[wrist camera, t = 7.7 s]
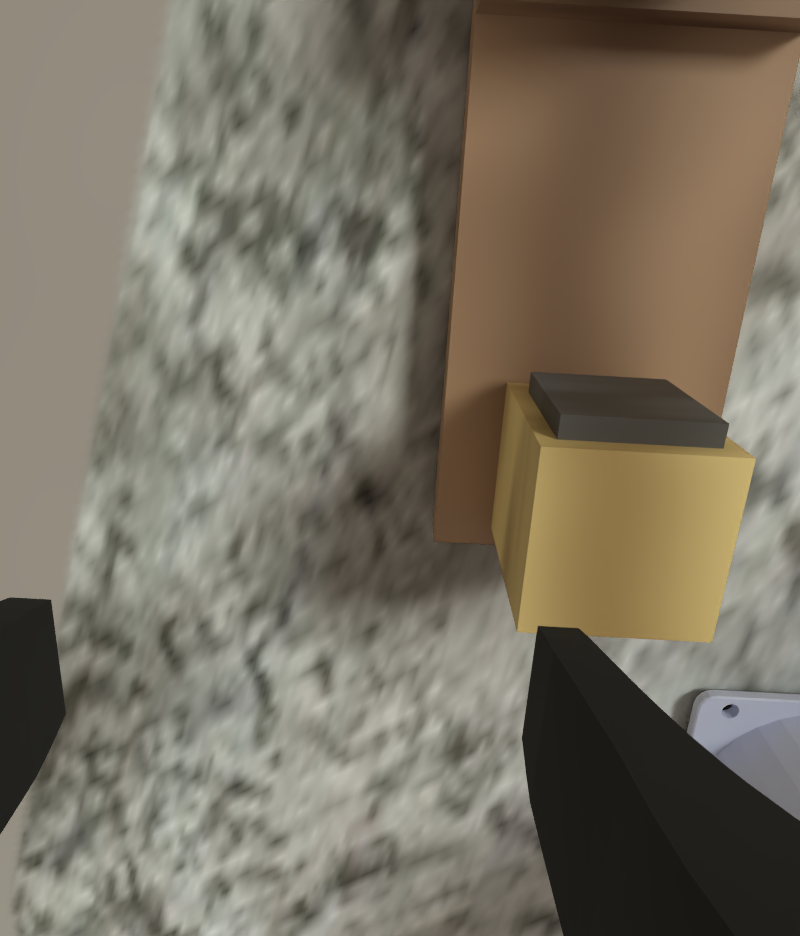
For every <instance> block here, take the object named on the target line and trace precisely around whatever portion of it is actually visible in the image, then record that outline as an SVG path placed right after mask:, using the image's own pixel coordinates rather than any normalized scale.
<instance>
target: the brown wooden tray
mask: <svg viewBox="0 0 800 936" xmlns="http://www.w3.org/2000/svg"><path fill="white" fill-rule="evenodd" d="M799 58H800V0H473V8H472V21H471V34H470V47H469V60H468V73H467V86H466V99H465V112H464V125H463V138H462V151H461V164H460V177H459V190H458V203H457V216H456V229H455V242H454V255H453V268H452V280H451V293H450V306H449V319H448V332H447V345H446V358H445V371H444V384H443V397H442V410H441V423H440V436H439V449H438V462H437V475H436V488H435V501H434V514H433V533H434V542H453V543H471V544H489V545H496V549H497V553H498V557H499V561H500V565H501V569H502V573H503V577H504V581H505V585H506V589H507V594H508V598H509V602H510V606H511V610H512V614H513V618H514V622H515V626H516V630H517V632H526V633H537V628H538V626H549V627H568V628H579V629H580V630H581V631H583V632H584V633H585V634H586V635H587V636H601V637H620V638H638V639H657V640H676V641H694V642H712V640H713V636H714V632H715V628H716V624H717V619H718V615H719V611H720V607H721V603H722V599H723V594H724V590H725V586H726V582H727V578H728V574H729V569H730V565H731V561H732V557H733V553H734V549H735V544H736V540H737V536H738V532H739V528H740V524H741V519H742V515H743V511H744V507H745V503H746V498H747V494H748V490H749V486H750V482H751V478H752V473H753V469H754V465H755V461H756V458H754V457H753V456H752V455H750V454H749V453H748V452H747V451H745V450H744V449H743V448H741V447H740V446H739V445H737V444H736V443H735V442H733V441H732V440H731V439H729V438H728V437H727V431H728V427H729V423H727V422H726V421H724V420H723V419H722V418H721V416H722V412H723V407H724V403H725V398H726V393H727V389H728V384H729V380H730V375H731V370H732V366H733V361H734V357H735V352H736V347H737V343H738V338H739V334H740V329H741V324H742V320H743V315H744V311H745V306H746V301H747V297H748V292H749V288H750V283H751V278H752V274H753V269H754V265H755V260H756V255H757V251H758V246H759V242H760V237H761V232H762V228H763V223H764V219H765V214H766V209H767V205H768V200H769V196H770V191H771V186H772V182H773V177H774V173H775V168H776V163H777V159H778V154H779V150H780V145H781V140H782V136H783V131H784V127H785V122H786V117H787V113H788V108H789V104H790V99H791V94H792V90H793V85H794V81H795V76H796V71H797V67H798V62H799Z"/></svg>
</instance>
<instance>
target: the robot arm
mask: <svg viewBox="0 0 800 936" xmlns="http://www.w3.org/2000/svg"><path fill="white" fill-rule="evenodd" d="M730 704H733V706H732V707H731V708H729V709H727V710H723V708H724V707H725V706H727V705H730ZM65 714H66V712H65V704H64V696H63V689H62V681H61V673H60V666H59V658H58V650H57V642H56V635H55V627H54V619H53V612H52V604H51V600H46V599H27V598H7V599H5V600H2V601H0V834H1V832H2V831H3V829H4V828H5V826H6V824H7V823H8V821H9V820H10V818H11V817H12V815H13V813H14V812H15V810H16V809H17V807H18V805H19V804H20V802H21V801H22V799H23V798H24V796H25V794H26V793H27V791H28V790H29V788H30V786H31V785H32V783H33V781H34V780H35V778H36V777H37V774H38V772H39V770H40V768H41V766H42V764H43V762H44V760H45V758H46V756H47V754H48V752H49V750H50V748H51V746H52V743H53V741H54V739H55V737H56V735H57V732H58V730H59V728H60V726H61V723H62V721H63V719H64V717H65ZM522 741H523V750H524V758H525V767H526V775H527V782H528V790H529V797H530V804H531V808H532V812H533V816H534V820H535V824H536V828H537V832H538V836H539V840H540V844H541V849H542V853H543V857H544V860H545V864H546V868H547V872H548V876H549V880H550V884H551V888H552V892H553V896H554V900H555V904H556V908H557V912H558V916H559V919H560V923H561V927H562V931H563V935H564V936H800V694H783V693H764V692H746V691H727V690H707V691H704V692H702V693H700V694H699V695H698V696H697V697H696V699H695V701H694V704H693V708H692V712H691V716H690V720H689V725H688V729H687V732H686V731H685V730H684V729H682V728H681V727H680V726H679V725H678V724H677V723H676V722H675V721H674V720H672V719H671V718H670V717H669V716H668V715H667V714H666V713H665V712H664V711H663V710H662V709H661V708H659V707H658V706H657V705H656V704H655V703H654V702H653V701H652V700H651V699H650V698H649V697H648V696H647V695H646V694H645V693H644V692H643V691H642V690H641V689H640V688H639V687H638V686H637V685H636V684H635V683H634V682H633V681H632V680H630V679H629V678H628V676H627V675H626V674H625V673H624V672H623V671H622V670H621V669H620V668H619V667H618V666H617V665H616V664H615V663H614V662H613V661H612V660H611V659H610V658H609V657H608V656H607V655H606V654H605V653H604V652H603V651H602V650H601V649H600V648H599V647H598V646H597V645H596V644H595V643H594V642H593V641H592V640H591V639H590V638H589V637H588V636H587V635H586V634H585V633H584V632H583V631H581V630H580V629H579V628H568V627H549V626H538V628H537V635H536V642H535V649H534V656H533V663H532V671H531V678H530V685H529V692H528V699H527V706H526V713H525V720H524V728H523V735H522Z"/></svg>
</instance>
